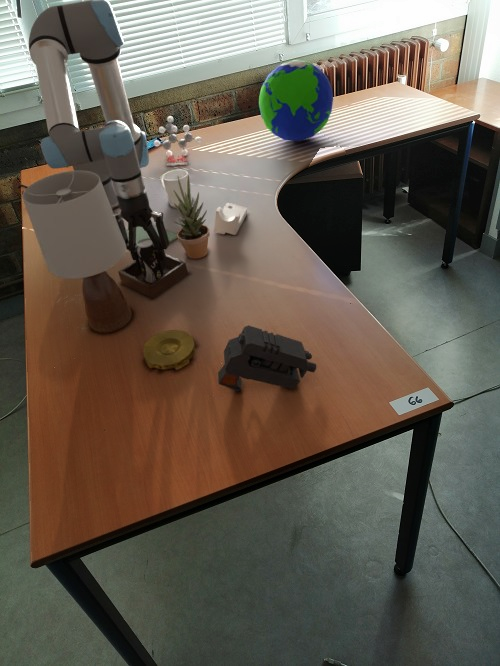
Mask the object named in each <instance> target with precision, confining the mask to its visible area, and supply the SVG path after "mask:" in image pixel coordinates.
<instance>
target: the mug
mask: <svg viewBox="0 0 500 666" xmlns="http://www.w3.org/2000/svg"><path fill="white" fill-rule="evenodd" d="M188 175H189V173H188V171H187V170H186V169H180V168H179V169H178V168H177V169H171V170H168V171H166V172H165V173H164V174H161V175H160V176H159V181H160V184H161V187H162V189H163V191H164V193H165V194H166V195H167V199H168V203H169V206H170V207H171V208H175V209H177V208H176V206H175V205H174V203H175V204H176V205H177V206H178V205H179V204H180V203H179V201H178V199H177V197H176V195H175V193H174V190H175V192H176V193H177V195H178V196H179V198H180V199H181V200H182V202H183V203H184V201H183V197H182V194H181V190H180V187H179V182H178V176H179V180H180V183H181V186H182V190H183V193H184V196H185V193H186V194H187V182H188ZM190 192H191V193H192V190H191V189H190ZM191 201H192V202H193V197H192V196H191ZM179 207H180V206H179Z"/></svg>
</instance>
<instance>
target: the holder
mask: <svg viewBox="0 0 500 666" xmlns="http://www.w3.org/2000/svg"><path fill="white" fill-rule="evenodd" d="M165 255H166V258H165V260H164V263H165V268H168V269H170V270H169V271H167V273H164V275H163V276H162V277H160V278H159V279H157V280H156V281H154V282H153V283H148V282H146V281H143V280H141V279H139V278H137V276H138V275H140V274H141V273H142V272H139V270H138V267H137V263H136V260H133V261H132V262H131V263H129V264H128V265H127V266H125V267H123V268H122V269H120V270H118V271H117V273H118V277H119V279H120V282H121V284H123V285H124V286H126V287H128V288H130V289H133V290H134V291H136V292H138V293H140V294H142V295H145V296H147V297H149V298H151V300H152V299H155V298H156V297H157V296H159V295H161V294H162V293H164V292H165V291H167V289H169V288H171V287H172V286H173V285H175V284H177V283H178V282H179V281H180V280H183V279H184V278H185V277H187V276H188V275H189V271H188V266H187V263H186V262H185V261H183V260H181V259H178V258H176V257H173V256H171V255H169V254H166V253H165Z"/></svg>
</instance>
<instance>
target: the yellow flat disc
mask: <svg viewBox="0 0 500 666" xmlns="http://www.w3.org/2000/svg"><path fill="white" fill-rule="evenodd" d="M195 350H196V345H195V341H194V338H193V336H192V335H191V334H190V333H188V332H186V331H184V330H179V329H169V330H164V331H161V332H158V333H156V334H154V335H153V336H152V337H150V338H149V339H148V340H147V341H146V342H145V344H144V346H143V348H142V354H143V357H144V361H145V363H146V365H147V366H148V367H149V368H150V369H158V370H171V369H175V371H177V370H180V369H182V368H184V367H186V366H187V365H188V364H189V363H190V360H191V358H192V357H193V356H194V354H195Z"/></svg>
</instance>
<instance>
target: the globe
mask: <svg viewBox="0 0 500 666" xmlns="http://www.w3.org/2000/svg"><path fill="white" fill-rule="evenodd" d="M333 95H334V94H333V88H332V85H331V82H330V80H329V78H328V77H327V75H326V74H325V73H324V72H323V70H321V68H319V67H318V66H316V65H314V64H313V63H312V62H310V61H308V60H301V59H294V60H293V59H292V60H288V61H287V60H286V61H285V62H283V63H280V64H279V65H278V66H276V68H274V69H273V70H272V71H271V72H269V73H268V75H267V77H266V78H265V79H264V82H263V83H262V86H261V88H260V92H259V96H258V107H259V111H260V116H261V117H260V118H261V119H262V121H263V123H264V125H265V127H266V129H268V131H269V132H271V133H272V134H273V135H274V136H276V137H278V138H279V139H282V140H284V141H289V142H302V141H305V140H307V139H310V138H313V137H315V136H316V135H317V134H318V133H319V132H321V131H322V130H323V129H324V127H325V126H326V125H327V123H328V121H329V119H330V116H331V114H332V111H333V104H334V96H333Z"/></svg>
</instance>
